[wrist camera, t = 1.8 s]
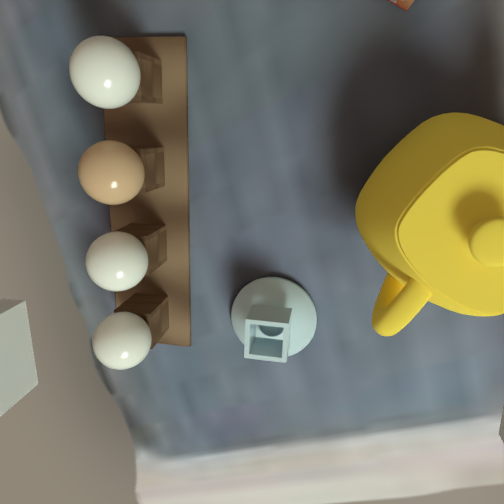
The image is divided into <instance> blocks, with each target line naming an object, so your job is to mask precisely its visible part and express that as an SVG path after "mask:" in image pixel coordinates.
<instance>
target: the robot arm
mask: <svg viewBox="0 0 504 504" xmlns="http://www.w3.org/2000/svg"><path fill="white" fill-rule="evenodd" d="M37 384H38V379H37V373H36V367H35V360H34V353H33V347H32V341H31V335H30V328H29V321H28V315H27V309H26V302H25V300H11V299H1V300H0V416H2V415H3V414H4V413H5V412H6V411H7V410H9V409H10V408H11V407H12V406H13V405H14V404H16V403H17V402H18V401H19V400H20V399H21V398H22V397H24V396H25V395H26V394H27V393H28V392H29V391H31V390H32V389H33V388H34V387H35V386H36V385H37ZM499 435H500V437H501V439H502V440H503V442H504V407H503V413H502V418H501V424H500V429H499Z"/></svg>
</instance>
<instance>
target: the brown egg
mask: <svg viewBox="0 0 504 504" xmlns="http://www.w3.org/2000/svg"><path fill="white" fill-rule="evenodd" d="M78 177H79V181H80V183H81V186H82V187H83V189H84V190H85V192H86V193H87V194H88V195H89V196H90V197H92V198H93V199H94V200H96V201H98V202H101V203H104V204H108V205H118V204H123V203H126V202H128V201H130V200H131V199H133V198H134V197H135V196H136V195H137V194H138V193H139V191H140V190H141V188H142V186H143V183H144V178H145V170H144V165H143V163H142V160H141V158H140V157H139V155H138V154H137V153H136V152H135V151H134V150H133V149H132V148H131V147H130V146H128V145H126V144H124V143H122V142H119V141H114V140H105V141H100V142H97V143H95V144H93V145H91V146H90V147H89V148H88V149H87V150H86V151H85V152H84V153H83V154H82V156H81V158H80V161H79V164H78Z"/></svg>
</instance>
